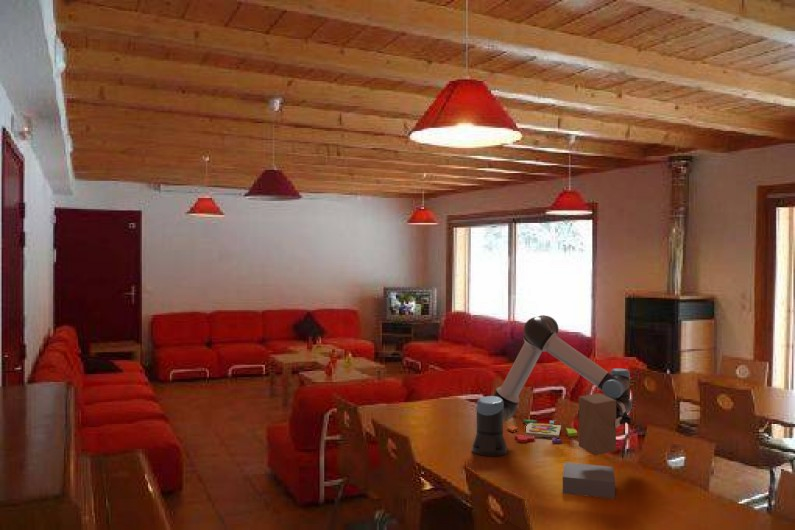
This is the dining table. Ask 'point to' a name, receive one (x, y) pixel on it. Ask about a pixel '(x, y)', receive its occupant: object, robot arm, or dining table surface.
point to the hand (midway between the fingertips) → (597, 421)
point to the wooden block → (597, 423)
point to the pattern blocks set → (541, 431)
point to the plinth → (588, 480)
